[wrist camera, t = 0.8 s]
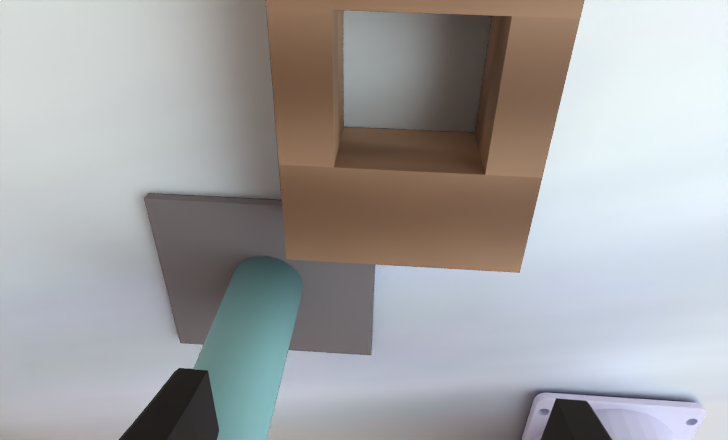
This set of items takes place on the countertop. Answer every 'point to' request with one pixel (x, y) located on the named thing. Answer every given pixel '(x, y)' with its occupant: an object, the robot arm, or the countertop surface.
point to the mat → (243, 241)
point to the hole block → (416, 142)
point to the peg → (251, 345)
